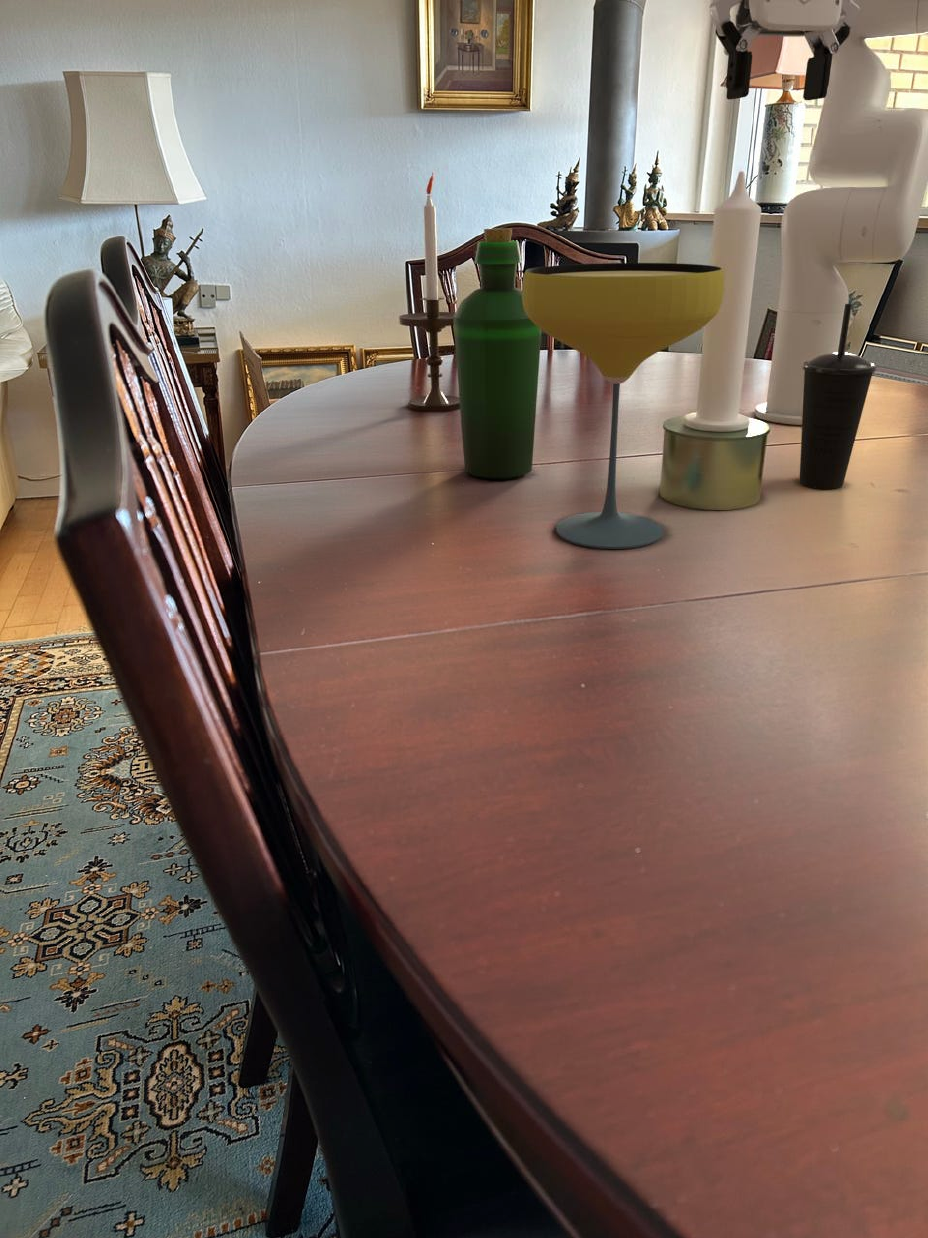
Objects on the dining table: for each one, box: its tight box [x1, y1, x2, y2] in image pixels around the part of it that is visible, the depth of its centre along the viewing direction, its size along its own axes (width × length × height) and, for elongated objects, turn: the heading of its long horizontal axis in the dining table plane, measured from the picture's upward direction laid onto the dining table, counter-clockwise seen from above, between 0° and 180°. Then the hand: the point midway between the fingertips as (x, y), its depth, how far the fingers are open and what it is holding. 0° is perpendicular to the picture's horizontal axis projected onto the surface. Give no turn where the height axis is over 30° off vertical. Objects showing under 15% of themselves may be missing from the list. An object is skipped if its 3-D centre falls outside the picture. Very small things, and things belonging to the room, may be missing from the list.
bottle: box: [453, 227, 543, 481], centre depth 106 cm, size 11×11×28 cm
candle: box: [684, 170, 762, 432], centre depth 93 cm, size 7×7×25 cm
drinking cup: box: [798, 303, 877, 490], centre depth 101 cm, size 8×8×20 cm
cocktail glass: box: [521, 262, 724, 550], centre depth 86 cm, size 18×18×25 cm
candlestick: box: [398, 172, 460, 413], centre depth 142 cm, size 11×11×35 cm
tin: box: [659, 414, 771, 511], centre depth 100 cm, size 11×11×8 cm
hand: (776, 98), depth 96 cm, fingers open, 9 cm apart
